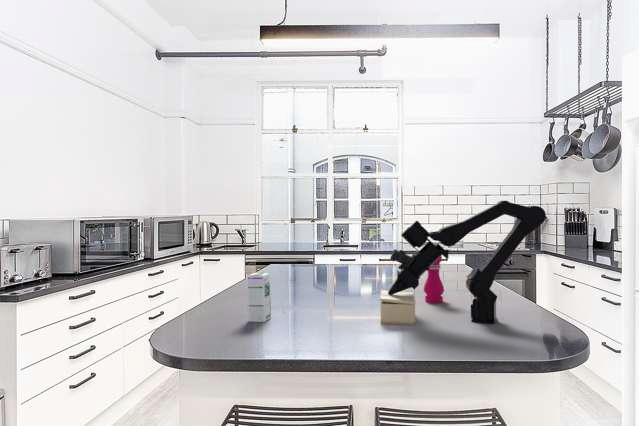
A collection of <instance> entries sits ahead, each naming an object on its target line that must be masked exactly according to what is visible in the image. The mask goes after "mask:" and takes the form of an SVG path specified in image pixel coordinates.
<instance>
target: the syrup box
mask: <svg viewBox="0 0 639 426" xmlns="http://www.w3.org/2000/svg"><path fill="white" fill-rule="evenodd" d="M270 280H271V279H270V273H268V272H253V273H251V274H249V275H247V276H246V294H247V295H246V297H247V301H246V302H247V322H253V323H266V322H267V321H268V320H270V319H271V318H272V310H271V309H272V308H271V284H270V283H271V282H270Z"/></svg>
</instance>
